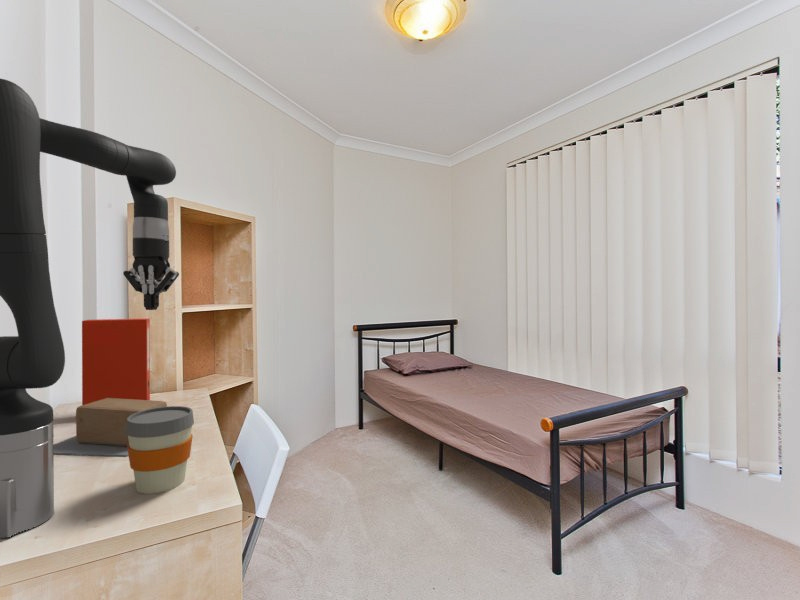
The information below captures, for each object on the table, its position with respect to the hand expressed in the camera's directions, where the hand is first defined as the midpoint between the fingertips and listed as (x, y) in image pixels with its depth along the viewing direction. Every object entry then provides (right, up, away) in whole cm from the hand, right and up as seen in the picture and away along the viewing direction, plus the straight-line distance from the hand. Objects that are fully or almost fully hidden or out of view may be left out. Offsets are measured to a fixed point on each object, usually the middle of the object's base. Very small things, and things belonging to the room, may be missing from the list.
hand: (151, 309), depth 94 cm
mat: (-20, -37, +12) cm, 43 cm away
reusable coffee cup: (+9, -38, -10) cm, 40 cm away
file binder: (-35, -36, +36) cm, 62 cm away
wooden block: (-6, -31, +12) cm, 34 cm away
